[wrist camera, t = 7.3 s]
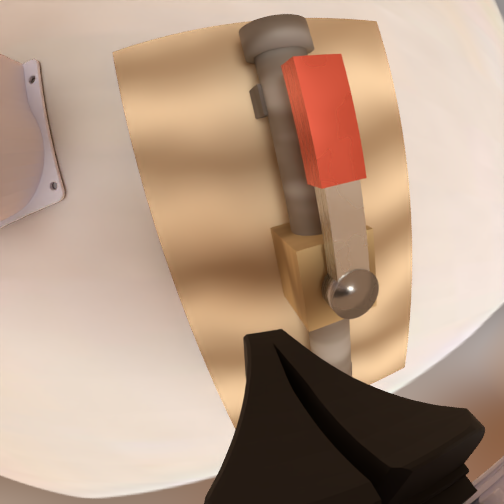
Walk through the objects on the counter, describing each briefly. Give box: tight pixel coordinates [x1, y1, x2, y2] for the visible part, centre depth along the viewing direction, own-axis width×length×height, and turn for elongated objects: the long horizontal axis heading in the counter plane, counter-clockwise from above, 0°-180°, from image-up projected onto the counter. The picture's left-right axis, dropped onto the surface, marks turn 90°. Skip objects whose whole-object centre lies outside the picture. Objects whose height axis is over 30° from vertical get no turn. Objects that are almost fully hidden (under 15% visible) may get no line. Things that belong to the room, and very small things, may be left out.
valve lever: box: [281, 54, 379, 319], centre depth 12 cm, size 11×2×1 cm, turn 13°
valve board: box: [113, 14, 412, 429], centre depth 17 cm, size 28×16×6 cm, turn 13°
